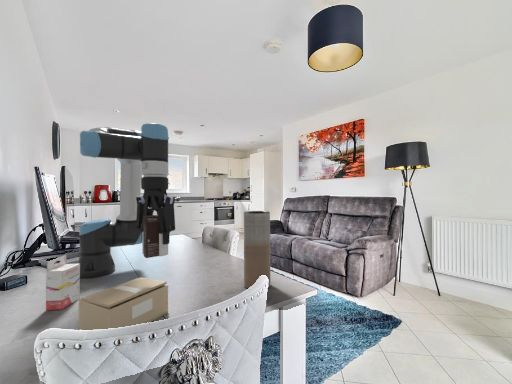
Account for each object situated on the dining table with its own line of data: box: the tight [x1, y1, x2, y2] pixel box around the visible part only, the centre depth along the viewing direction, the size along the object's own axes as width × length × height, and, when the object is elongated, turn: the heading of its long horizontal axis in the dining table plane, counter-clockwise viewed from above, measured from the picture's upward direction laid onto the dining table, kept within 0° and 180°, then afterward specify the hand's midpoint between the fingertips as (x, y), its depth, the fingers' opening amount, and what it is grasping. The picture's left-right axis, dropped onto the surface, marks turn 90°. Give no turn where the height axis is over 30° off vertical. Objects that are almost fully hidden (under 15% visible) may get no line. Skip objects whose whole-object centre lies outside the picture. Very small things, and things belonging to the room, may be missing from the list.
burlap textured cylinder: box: [243, 210, 271, 289], centre depth 92 cm, size 10×10×28 cm
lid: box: [80, 277, 168, 308], centre depth 66 cm, size 11×17×1 cm
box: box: [143, 214, 166, 259], centre depth 73 cm, size 6×4×12 cm
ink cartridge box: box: [45, 255, 81, 311], centre depth 78 cm, size 9×5×15 cm, turn 5°
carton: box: [78, 284, 169, 330], centre depth 66 cm, size 13×17×8 cm
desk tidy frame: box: [38, 251, 80, 267], centre depth 127 cm, size 20×20×2 cm
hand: (155, 253), depth 73 cm, fingers closed on box, 6 cm apart
